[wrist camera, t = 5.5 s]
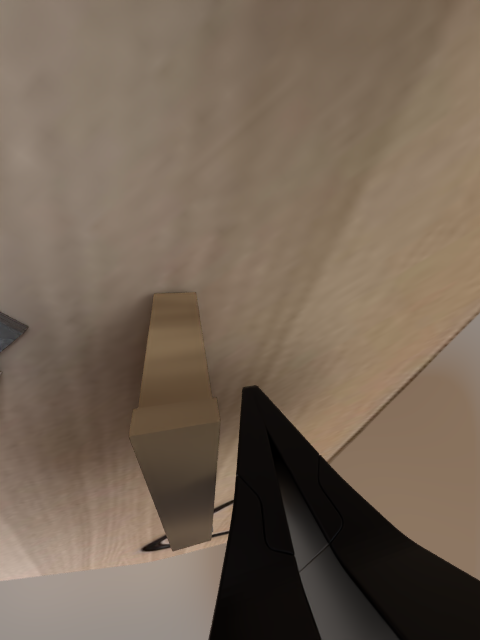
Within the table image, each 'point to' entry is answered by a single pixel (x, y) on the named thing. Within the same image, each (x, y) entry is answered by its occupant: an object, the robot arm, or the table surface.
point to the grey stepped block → (9, 331)
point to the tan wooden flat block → (177, 422)
